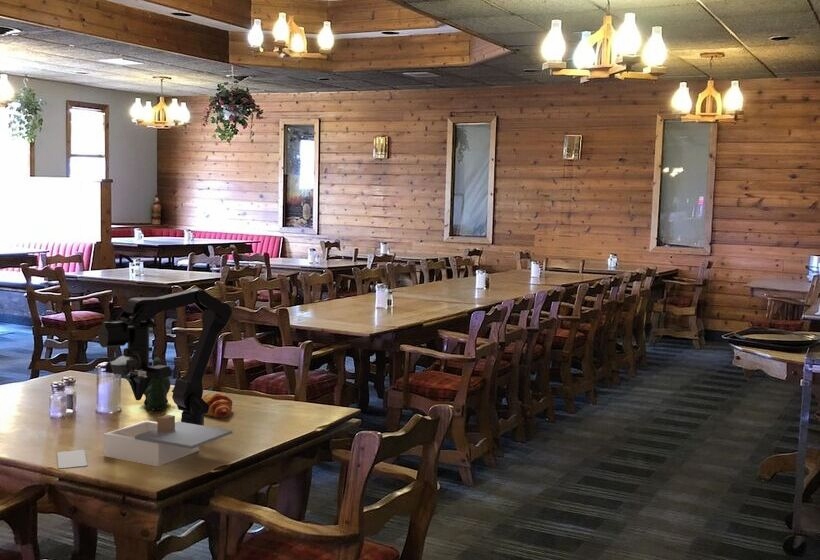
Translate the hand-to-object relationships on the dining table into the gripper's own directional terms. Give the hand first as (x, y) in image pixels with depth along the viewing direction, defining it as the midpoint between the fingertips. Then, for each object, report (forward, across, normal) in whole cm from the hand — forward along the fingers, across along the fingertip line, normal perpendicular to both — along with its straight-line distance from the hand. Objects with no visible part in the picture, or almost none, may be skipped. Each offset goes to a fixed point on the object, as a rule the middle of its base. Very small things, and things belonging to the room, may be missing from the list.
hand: (138, 400), depth 238 cm
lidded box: (+12, +10, -6) cm, 17 cm away
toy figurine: (+12, -23, +34) cm, 43 cm away
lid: (+6, +21, -6) cm, 22 cm away
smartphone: (+13, -4, -20) cm, 24 cm away
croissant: (+12, -2, +39) cm, 41 cm away
